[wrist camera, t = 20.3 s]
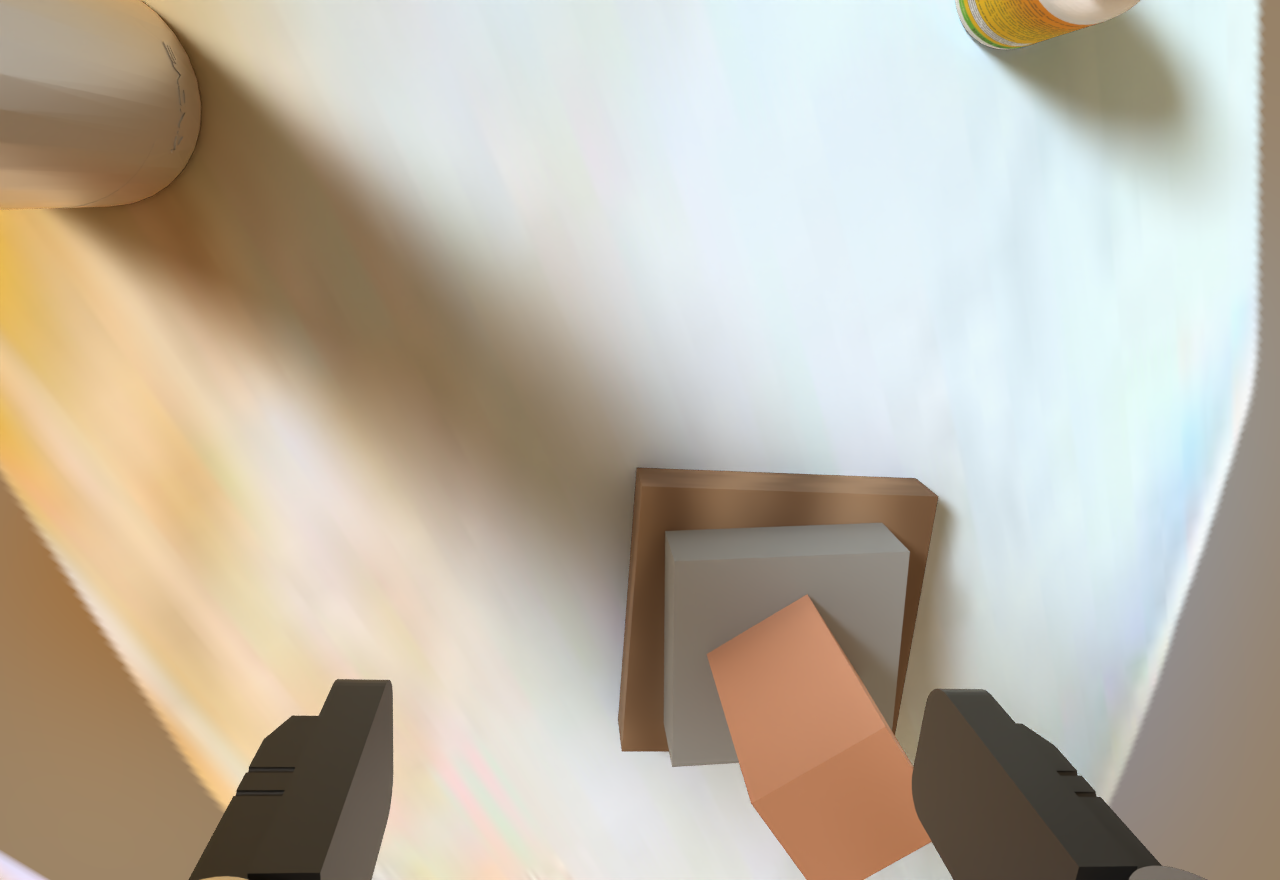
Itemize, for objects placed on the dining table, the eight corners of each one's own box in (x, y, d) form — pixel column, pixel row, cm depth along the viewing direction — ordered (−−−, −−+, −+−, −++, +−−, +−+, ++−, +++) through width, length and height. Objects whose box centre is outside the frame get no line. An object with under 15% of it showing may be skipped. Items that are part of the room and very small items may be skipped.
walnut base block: (617, 712, 48) (621, 751, 45) (635, 463, 44) (642, 486, 40) (869, 713, 50) (891, 751, 46) (910, 473, 45) (938, 496, 42)
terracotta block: (763, 735, 41) (822, 902, 31) (706, 654, 39) (751, 803, 30) (860, 678, 40) (951, 830, 31) (807, 594, 39) (885, 726, 29)
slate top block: (663, 723, 44) (672, 766, 41) (665, 530, 41) (674, 561, 38) (865, 711, 45) (889, 753, 42) (882, 522, 42) (909, 551, 39)
